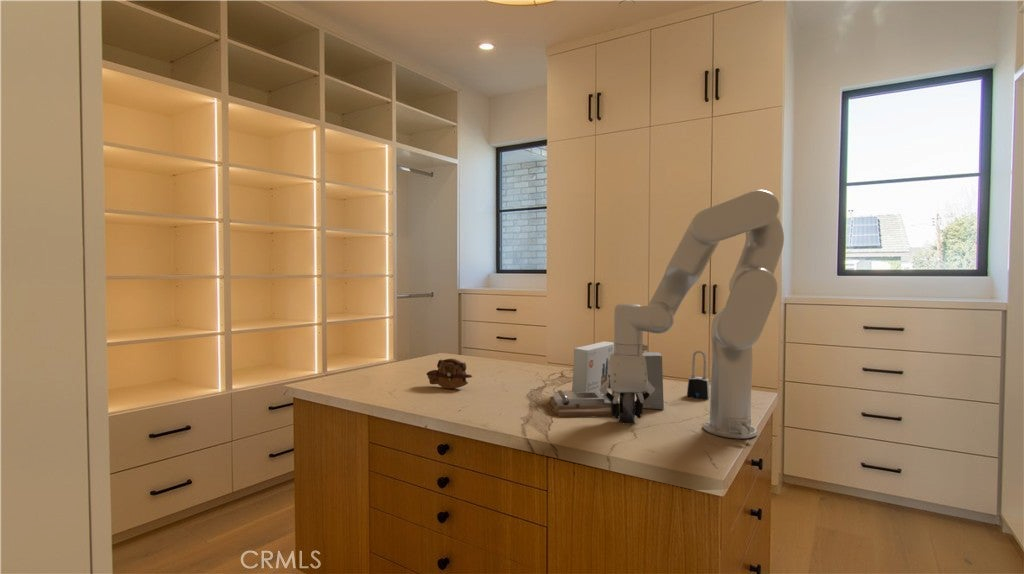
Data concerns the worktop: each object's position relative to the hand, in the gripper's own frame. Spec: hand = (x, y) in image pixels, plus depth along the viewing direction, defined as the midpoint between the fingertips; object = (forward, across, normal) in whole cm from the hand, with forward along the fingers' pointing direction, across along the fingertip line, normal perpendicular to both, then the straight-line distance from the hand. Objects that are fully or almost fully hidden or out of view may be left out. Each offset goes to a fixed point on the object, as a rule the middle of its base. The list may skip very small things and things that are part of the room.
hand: (626, 416), depth 136 cm
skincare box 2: (+2, -12, -15) cm, 19 cm away
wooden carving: (+2, +49, -39) cm, 63 cm away
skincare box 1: (+2, +1, -31) cm, 31 cm away
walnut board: (+1, +8, -13) cm, 15 cm away
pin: (+1, 0, 0) cm, 1 cm away
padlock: (+2, -31, -24) cm, 39 cm away
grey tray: (0, +8, -13) cm, 15 cm away
